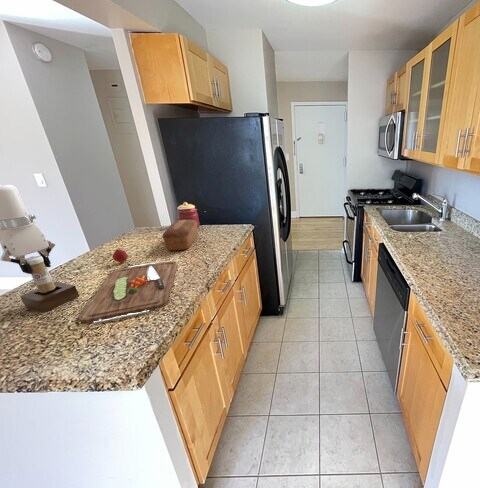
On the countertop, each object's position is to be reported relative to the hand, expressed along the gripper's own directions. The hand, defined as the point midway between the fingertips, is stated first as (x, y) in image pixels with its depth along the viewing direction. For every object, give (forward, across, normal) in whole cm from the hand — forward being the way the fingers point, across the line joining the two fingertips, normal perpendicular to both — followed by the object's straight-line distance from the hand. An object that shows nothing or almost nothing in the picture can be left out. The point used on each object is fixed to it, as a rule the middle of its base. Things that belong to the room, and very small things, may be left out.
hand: (38, 269), depth 95 cm
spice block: (+14, 0, 0) cm, 14 cm away
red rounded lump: (+14, -33, -8) cm, 37 cm away
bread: (+14, -64, +1) cm, 66 cm away
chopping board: (+14, -17, +22) cm, 31 cm away
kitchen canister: (+14, -91, -19) cm, 94 cm away
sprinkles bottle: (+9, 0, 0) cm, 9 cm away
